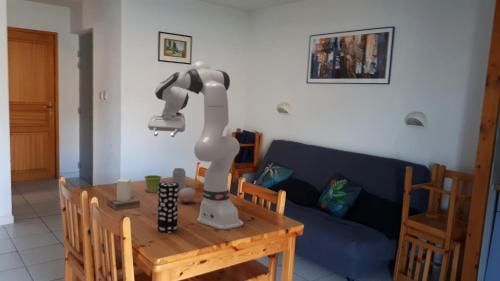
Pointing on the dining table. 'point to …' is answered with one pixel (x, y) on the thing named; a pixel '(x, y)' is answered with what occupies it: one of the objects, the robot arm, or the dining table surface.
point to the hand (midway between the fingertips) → (163, 135)
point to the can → (179, 176)
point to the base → (123, 203)
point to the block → (123, 189)
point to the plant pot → (152, 183)
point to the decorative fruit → (187, 193)
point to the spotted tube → (167, 207)
